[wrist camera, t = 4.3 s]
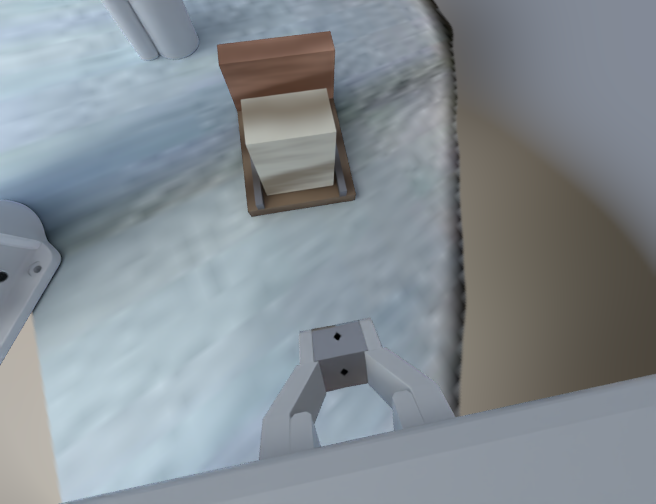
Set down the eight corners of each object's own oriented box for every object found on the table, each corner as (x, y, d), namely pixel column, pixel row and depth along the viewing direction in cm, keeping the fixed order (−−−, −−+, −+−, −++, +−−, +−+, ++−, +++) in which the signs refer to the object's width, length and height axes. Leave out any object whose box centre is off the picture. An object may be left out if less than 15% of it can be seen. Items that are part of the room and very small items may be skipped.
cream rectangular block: (333, 185, 32) (336, 131, 24) (267, 195, 32) (245, 145, 23) (326, 150, 34) (326, 88, 25) (262, 159, 33) (240, 99, 25)
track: (354, 200, 34) (363, 161, 26) (251, 216, 33) (229, 181, 25) (328, 89, 39) (329, 29, 31) (238, 101, 38) (217, 43, 30)
